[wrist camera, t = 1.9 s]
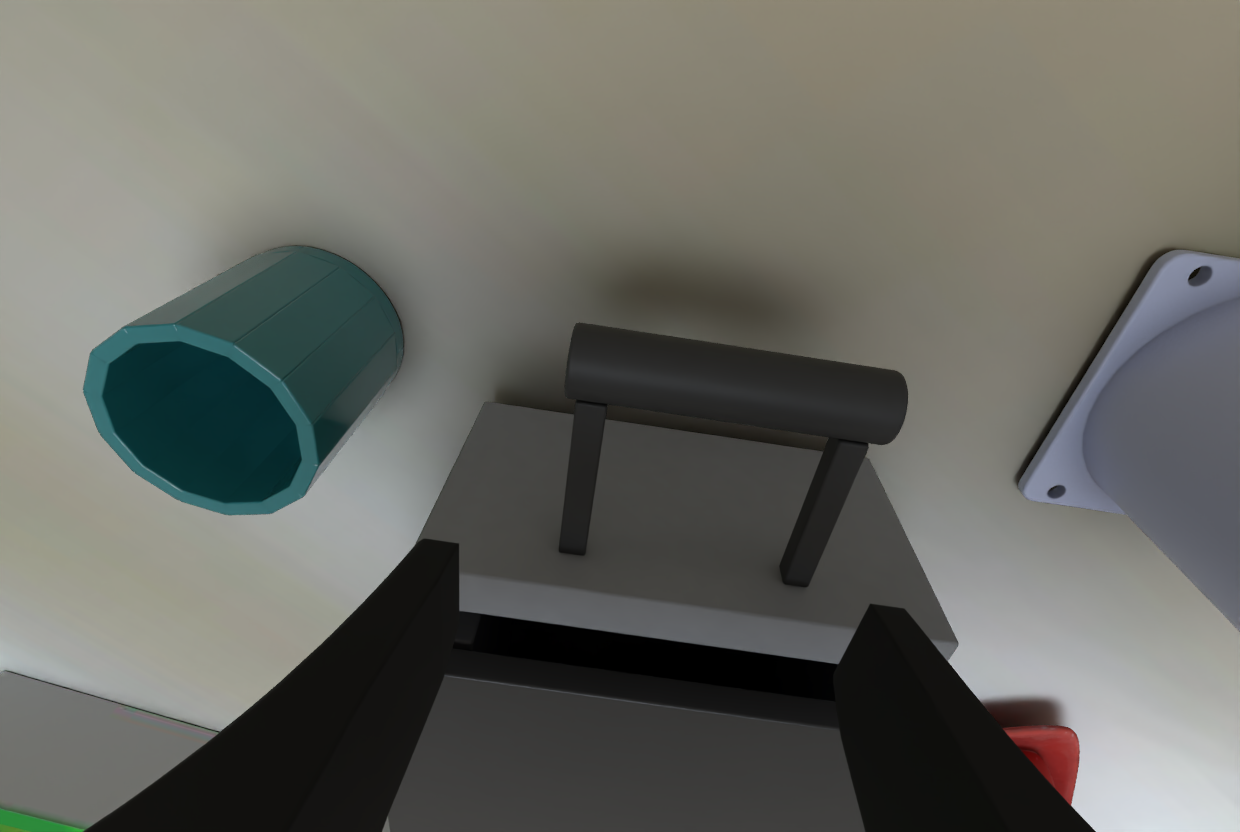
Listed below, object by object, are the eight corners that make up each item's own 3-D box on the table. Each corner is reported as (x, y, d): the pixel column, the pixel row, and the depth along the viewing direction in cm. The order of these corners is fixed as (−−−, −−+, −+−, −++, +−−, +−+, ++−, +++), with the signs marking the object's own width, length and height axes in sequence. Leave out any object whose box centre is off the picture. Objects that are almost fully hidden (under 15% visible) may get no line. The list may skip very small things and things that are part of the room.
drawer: (488, 221, 15) (386, 329, 10) (942, 291, 16) (1100, 436, 10) (478, 675, 25) (424, 861, 20) (756, 714, 26) (783, 908, 20)
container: (399, 258, 17) (300, 342, 12) (408, 413, 20) (329, 530, 15) (218, 230, 17) (48, 305, 12) (251, 389, 20) (123, 501, 15)
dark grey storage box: (471, 441, 20) (366, 664, 13) (856, 498, 20) (960, 746, 13) (468, 700, 28) (401, 930, 21) (749, 739, 28) (778, 979, 21)
